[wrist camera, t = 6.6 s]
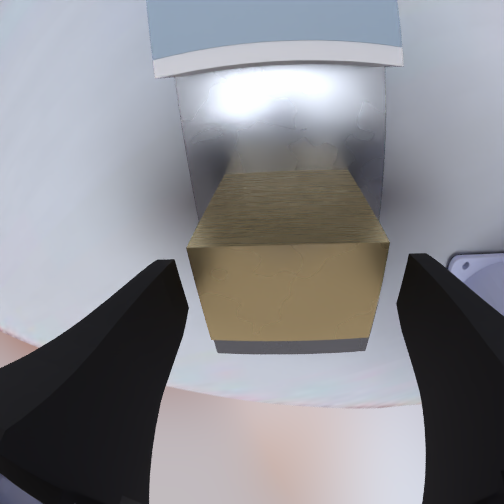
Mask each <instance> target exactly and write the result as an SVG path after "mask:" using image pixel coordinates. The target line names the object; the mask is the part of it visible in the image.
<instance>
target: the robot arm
mask: <svg viewBox="0 0 504 504" xmlns="http://www.w3.org/2000/svg"><path fill="white" fill-rule="evenodd" d="M465 262H466V263H465ZM464 263H465V264H464ZM463 264H464V265H463ZM396 304H397V309H398V315H399V320H400V325H401V329H402V333H403V337H404V340H405V343H406V346H407V349H408V353H409V356H410V359H411V362H412V366H413V369H414V373H415V376H416V380H417V383H418V387H419V391H420V396H421V401H422V408H423V416H424V426H425V442H426V471H425V485H424V494H423V502H422V504H504V253H496V254H473V255H457V256H455V257H454V258H453V259H452V260H451V262H450V264H449V267H448V269H446V268H445V267H444V266H443V265H441V264H440V263H439V262H438V261H436V260H435V259H434V258H432V257H431V256H429V255H428V254H426V253H420V254H409V256H408V261H407V265H406V269H405V273H404V277H403V281H402V285H401V289H400V293H399V296H398V300H397V303H396ZM188 309H189V307H188V303H187V300H186V297H185V294H184V290H183V287H182V284H181V280H180V277H179V274H178V270H177V267H176V263H175V260H174V259H170V260H156V261H155V262H153V263H152V264H150V265H149V266H148V267H146V268H145V269H144V270H143V271H141V272H140V273H139V274H138V275H136V276H135V277H134V278H133V279H132V280H130V281H129V282H128V283H127V284H126V285H124V286H123V287H122V288H121V289H120V290H118V291H117V292H116V293H115V294H114V295H112V296H111V297H110V298H109V299H108V300H106V301H105V302H104V303H103V304H101V305H100V306H99V307H98V308H96V309H95V310H94V311H92V312H91V313H90V314H89V315H88V316H86V317H85V318H84V319H82V320H81V321H80V322H78V323H77V324H76V325H74V326H73V327H71V328H70V329H68V330H67V331H66V332H64V333H63V334H61V335H60V336H58V337H57V338H55V339H54V340H52V341H50V342H48V343H47V344H45V345H43V346H42V347H40V348H38V349H37V350H35V351H33V352H32V353H30V354H28V355H26V356H24V357H22V358H21V359H18V360H17V361H14V362H12V363H10V364H8V365H6V366H4V367H1V368H0V504H149V482H150V468H151V457H152V448H153V442H154V435H155V428H156V423H157V418H158V413H159V408H160V403H161V400H162V396H163V392H164V389H165V386H166V383H167V380H168V378H169V375H170V372H171V369H172V366H173V363H174V360H175V357H176V355H177V352H178V349H179V346H180V343H181V340H182V337H183V333H184V329H185V324H186V320H187V314H188Z"/></svg>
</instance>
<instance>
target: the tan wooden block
mask: <svg viewBox="0 0 504 504" xmlns="http://www.w3.org/2000/svg"><path fill="white" fill-rule="evenodd" d="M389 244H390V242H389V240H388V238H387V236H386V234H385V232H384V230H383V229H382V227H381V225H380V223H379V221H378V219H377V218H376V216H375V214H374V212H373V211H372V209H371V207H370V205H369V204H368V202H367V200H366V198H365V197H364V195H363V193H362V192H361V190H360V188H359V187H358V185H357V183H356V182H355V180H354V179H353V177H352V175H351V174H350V172H349V171H348V170H301V171H273V172H254V173H238V174H225V175H224V177H223V178H222V180H221V182H220V184H219V186H218V188H217V190H216V191H215V193H214V195H213V197H212V199H211V201H210V203H209V205H208V206H207V208H206V210H205V212H204V214H203V216H202V218H201V220H200V222H199V224H198V226H197V228H196V230H195V232H194V234H193V236H192V238H191V240H190V242H189V244H188V246H187V248H186V249H187V253H188V257H189V261H190V264H191V268H192V272H193V276H194V280H195V284H196V287H197V291H198V295H199V298H200V302H201V306H202V309H203V313H204V316H205V320H206V323H207V327H208V330H209V333H210V337H211V340H229V341H310V340H335V339H353V338H368V337H369V335H370V331H371V327H372V323H373V319H374V316H375V312H376V307H377V303H378V299H379V295H380V290H381V286H382V281H383V276H384V271H385V266H386V261H387V256H388V250H389Z"/></svg>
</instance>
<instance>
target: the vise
mask: <svg viewBox="0 0 504 504" xmlns="http://www.w3.org/2000/svg"><path fill="white" fill-rule="evenodd" d="M175 83H176V90H177V97H178V104H179V111H180V117H181V124H182V130H183V136H184V142H185V148H186V154H187V159H188V165H189V171H190V176H191V182H192V187H193V193H194V198H195V203H196V208H197V213H198V218H199V222H200V220H201V218H202V216H203V214H204V212H205V210H206V208H207V206H208V205H209V203H210V201H211V199H212V197H213V195H214V193H215V191H216V190H217V188H218V186H219V184H220V182H221V180H222V178H223V177H224V175H225V174H238V173H254V172H273V171H301V170H348V171H349V172H350V174H351V175H352V177H353V179H354V180H355V182H356V183H357V185H358V187H359V188H360V190H361V192H362V193H363V195H364V197H365V198H366V200H367V202H368V204H369V205H370V207H371V209H372V211H373V212H374V214H375V216H376V218H377V219H378V221H379V215H380V206H381V196H382V184H383V171H384V155H385V128H386V87H385V67H367V66H353V65H329V64H298V65H273V66H259V67H247V68H238V69H229V70H221V71H214V72H208V73H201V74H195V75H190V76H184V77H175ZM378 302H379V299H378ZM377 306H378V303H377ZM376 309H377V307H376ZM375 313H376V312H375ZM374 317H375V316H374ZM373 321H374V319H373ZM372 325H373V323H372ZM371 328H372V327H371ZM370 332H371V331H370ZM369 336H370V335H369ZM368 339H369V337H368V338H353V339H335V340H310V341H229V340H214V342H215V346H216V349H217V352H218V353H231V354H317V353H339V352H355V351H365V350H366V346H367V343H368Z"/></svg>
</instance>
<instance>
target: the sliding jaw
mask: <svg viewBox="0 0 504 504" xmlns="http://www.w3.org/2000/svg"><path fill="white" fill-rule="evenodd" d="M146 3H147V14H148V24H149V33H150V42H151V50H152V58H153V67H154V74H155V79H158V78H170V77H184V76H190V75H195V74H201V73H208V72H214V71H221V70H229V69H238V68H247V67H259V66H273V65H298V64H329V65H353V66H367V67H403V50H402V40H401V29H400V20H399V11H398V4H397V0H146Z"/></svg>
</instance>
